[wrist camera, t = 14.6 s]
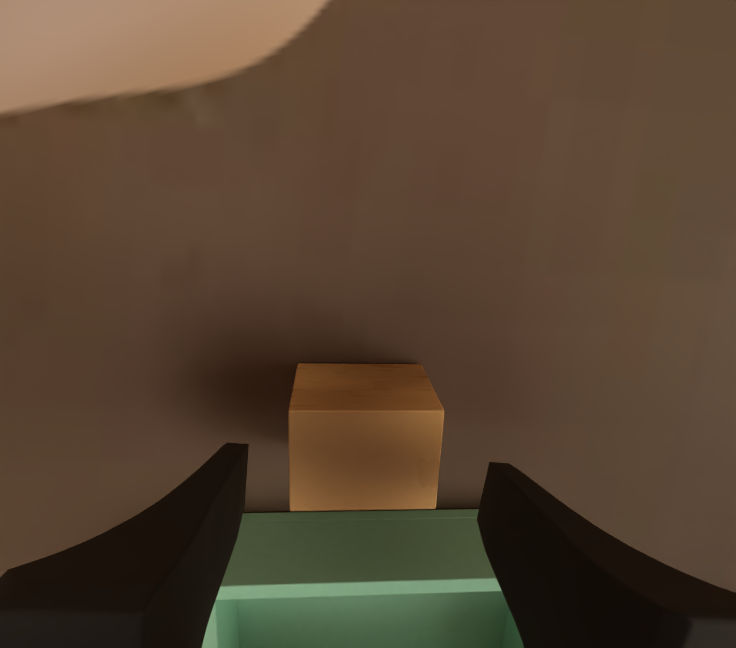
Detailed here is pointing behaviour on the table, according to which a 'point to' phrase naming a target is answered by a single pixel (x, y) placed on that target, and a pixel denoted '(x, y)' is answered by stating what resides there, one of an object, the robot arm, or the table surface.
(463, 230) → the table surface
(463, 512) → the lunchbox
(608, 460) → the table surface
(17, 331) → the table surface
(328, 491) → the block
